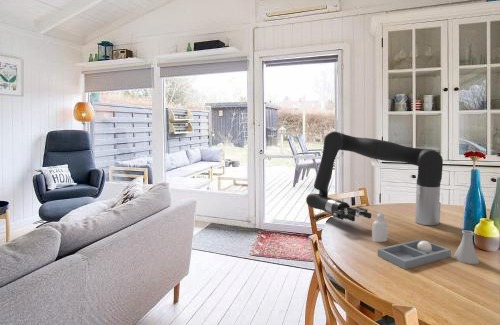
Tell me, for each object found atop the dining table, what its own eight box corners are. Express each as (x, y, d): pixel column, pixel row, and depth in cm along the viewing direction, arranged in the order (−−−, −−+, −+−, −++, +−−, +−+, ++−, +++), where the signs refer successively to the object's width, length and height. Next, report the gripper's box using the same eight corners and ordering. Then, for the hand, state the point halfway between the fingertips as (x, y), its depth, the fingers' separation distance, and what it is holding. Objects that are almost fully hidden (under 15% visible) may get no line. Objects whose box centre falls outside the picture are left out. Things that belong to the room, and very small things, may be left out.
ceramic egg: (423, 250, 110) (423, 238, 109) (434, 254, 106) (435, 242, 105) (414, 252, 108) (414, 240, 107) (425, 257, 104) (426, 244, 103)
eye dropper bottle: (371, 239, 123) (371, 209, 121) (386, 240, 121) (387, 210, 120) (372, 243, 119) (373, 212, 117) (388, 244, 117) (389, 213, 116)
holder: (421, 246, 114) (421, 238, 114) (450, 258, 104) (451, 249, 103) (377, 257, 106) (377, 248, 106) (404, 270, 96) (404, 261, 95)
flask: (484, 266, 97) (486, 236, 96) (458, 265, 99) (460, 235, 98) (473, 257, 104) (474, 228, 103) (449, 255, 106) (450, 227, 105)
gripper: (324, 202, 139) (348, 210, 125) (349, 198, 145) (376, 206, 130) (324, 218, 140) (348, 228, 125) (349, 214, 146) (375, 223, 131)
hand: (362, 217), depth 128 cm, fingers open, 8 cm apart
